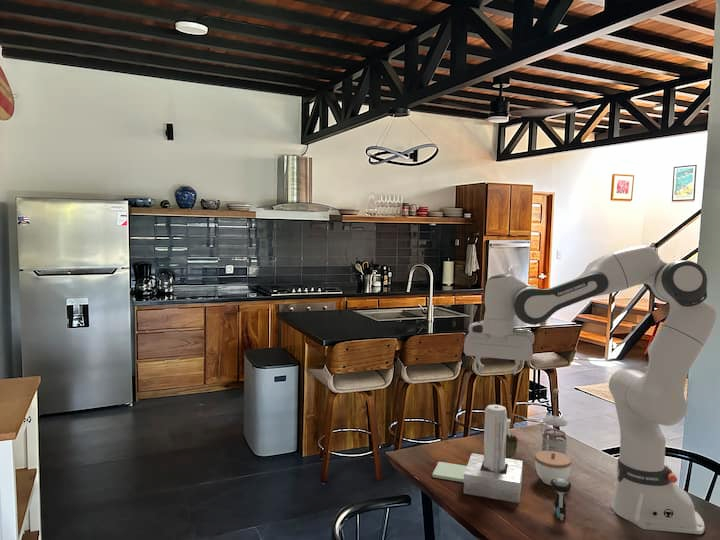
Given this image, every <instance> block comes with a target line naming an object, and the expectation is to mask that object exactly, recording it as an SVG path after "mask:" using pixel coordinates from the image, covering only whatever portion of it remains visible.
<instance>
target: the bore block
mask: <svg viewBox="0 0 720 540" xmlns="http://www.w3.org/2000/svg"><path fill="white" fill-rule="evenodd" d="M466 466H467V467H466V470H465V473H464V482H463V494H465V495H466V494H467V495H470V496H477V497H482V498H483V497H484V498H489V499H494V500H500V501H505V502H511V503H516V504H520V500H521V499H520V498H521V491H522V483H523V482H522V481H523V467H524V466H523V460H520V459H513V458H512V459H507V458H506V459H505V474H500V473H494V472H487V471H483V466H484V454H480V453H479V454H478V453H473V452H472V453H471V454H470V457H469V460H468V462H467V464H466Z"/></svg>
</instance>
